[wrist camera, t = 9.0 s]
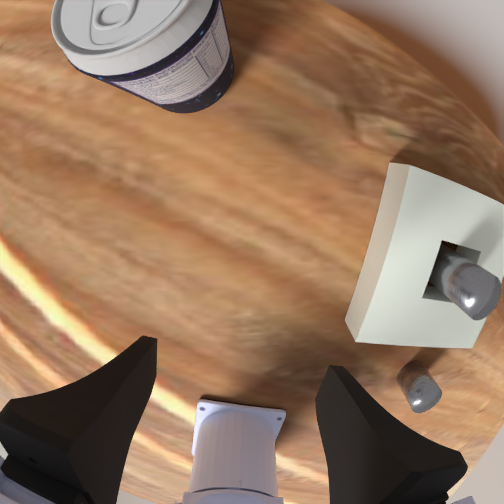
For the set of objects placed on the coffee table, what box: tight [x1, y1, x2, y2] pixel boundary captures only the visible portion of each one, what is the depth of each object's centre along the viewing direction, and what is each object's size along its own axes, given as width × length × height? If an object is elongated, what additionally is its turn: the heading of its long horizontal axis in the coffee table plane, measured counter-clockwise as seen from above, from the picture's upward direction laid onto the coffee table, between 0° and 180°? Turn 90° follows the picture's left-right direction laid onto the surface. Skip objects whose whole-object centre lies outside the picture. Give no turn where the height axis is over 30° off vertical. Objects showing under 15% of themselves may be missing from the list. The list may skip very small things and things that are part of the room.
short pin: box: [397, 361, 442, 413], centre depth 23 cm, size 3×3×4 cm
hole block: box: [345, 162, 504, 348], centre depth 20 cm, size 12×12×3 cm
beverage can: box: [51, 0, 234, 113], centre depth 11 cm, size 6×6×12 cm
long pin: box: [428, 243, 501, 320], centre depth 18 cm, size 3×3×7 cm
